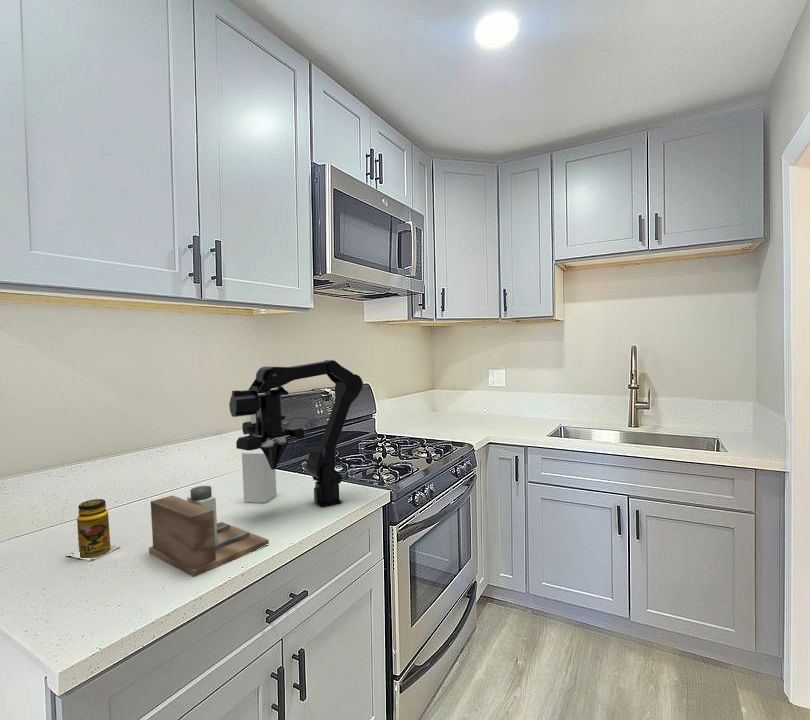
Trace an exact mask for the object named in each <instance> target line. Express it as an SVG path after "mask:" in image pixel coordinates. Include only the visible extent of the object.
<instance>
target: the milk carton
mask: <svg viewBox="0 0 810 720" xmlns="http://www.w3.org/2000/svg"><path fill="white" fill-rule="evenodd" d="M241 464H242V465H241V466H242V484H243V485H242V486H243V487H242V490H243V501H244V503H259V504H266V503H268V502H269V501H270V500H272V499H273V498H274V497H276V496H277V495H278V494H277V476H276V475H277V473H276V471H277V470H276V469H274V470H272V469H271V468H270V465H269V463H268V461H267V458H266V456H265V454H264V452H263V451H262V450H261V449H260V448H259V449H255V450H249V451H248V450H242V452H241Z"/></svg>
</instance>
